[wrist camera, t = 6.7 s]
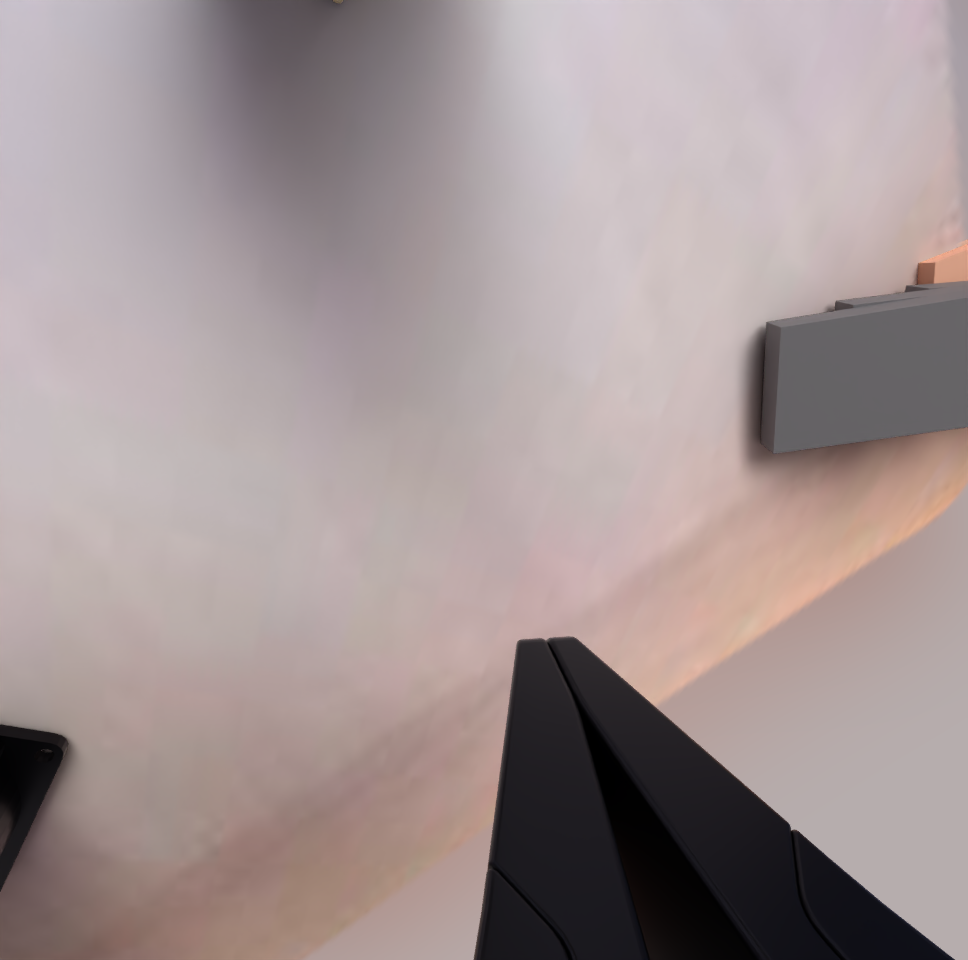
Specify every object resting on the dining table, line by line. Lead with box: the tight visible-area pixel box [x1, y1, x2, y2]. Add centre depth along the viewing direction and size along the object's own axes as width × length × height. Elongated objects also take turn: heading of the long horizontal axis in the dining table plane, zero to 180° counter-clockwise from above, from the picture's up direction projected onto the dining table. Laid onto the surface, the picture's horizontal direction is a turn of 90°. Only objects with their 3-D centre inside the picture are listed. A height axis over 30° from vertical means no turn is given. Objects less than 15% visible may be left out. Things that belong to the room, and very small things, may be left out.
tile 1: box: [761, 290, 968, 454], centre depth 21 cm, size 1×5×8 cm
